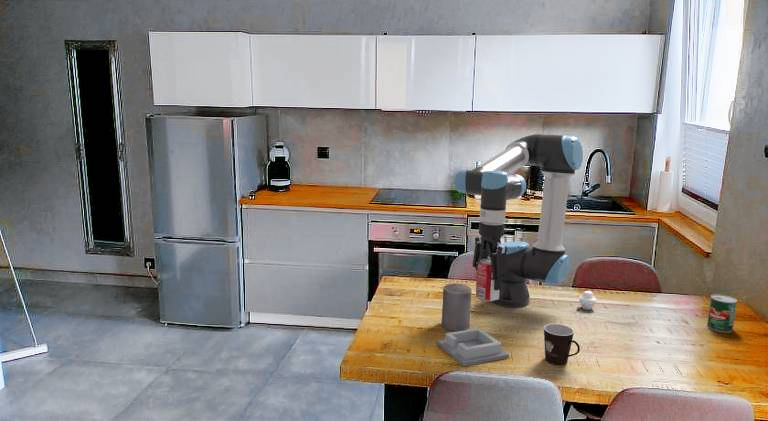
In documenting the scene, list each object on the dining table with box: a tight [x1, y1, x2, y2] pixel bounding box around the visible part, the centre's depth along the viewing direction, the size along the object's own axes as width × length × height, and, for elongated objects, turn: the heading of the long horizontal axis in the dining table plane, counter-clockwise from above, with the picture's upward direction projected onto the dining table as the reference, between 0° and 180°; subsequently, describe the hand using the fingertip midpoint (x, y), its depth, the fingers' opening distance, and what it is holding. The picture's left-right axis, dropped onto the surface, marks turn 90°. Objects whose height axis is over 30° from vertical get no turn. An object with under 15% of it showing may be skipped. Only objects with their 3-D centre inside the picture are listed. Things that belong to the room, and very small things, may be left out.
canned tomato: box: [706, 293, 738, 334], centre depth 195 cm, size 8×8×11 cm
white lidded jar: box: [578, 290, 597, 311], centre depth 212 cm, size 6×6×7 cm
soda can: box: [475, 258, 494, 302], centre depth 172 cm, size 7×7×12 cm
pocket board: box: [437, 327, 510, 367], centre depth 174 cm, size 16×16×4 cm
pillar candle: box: [441, 283, 473, 332], centre depth 192 cm, size 10×10×15 cm
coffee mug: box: [543, 323, 581, 366], centre depth 167 cm, size 12×9×10 cm
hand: (487, 295), depth 173 cm, fingers closed on soda can, 7 cm apart
